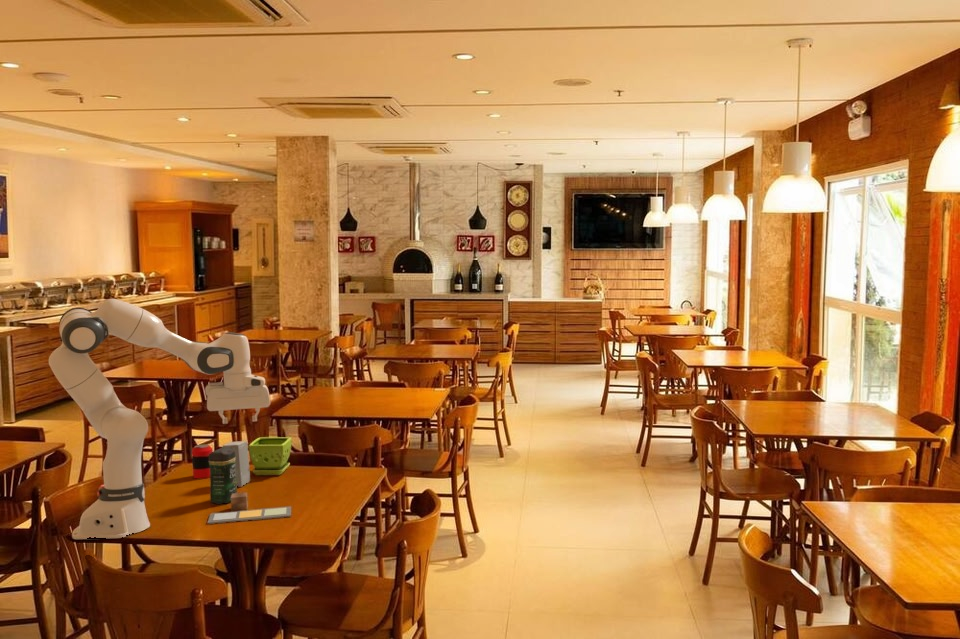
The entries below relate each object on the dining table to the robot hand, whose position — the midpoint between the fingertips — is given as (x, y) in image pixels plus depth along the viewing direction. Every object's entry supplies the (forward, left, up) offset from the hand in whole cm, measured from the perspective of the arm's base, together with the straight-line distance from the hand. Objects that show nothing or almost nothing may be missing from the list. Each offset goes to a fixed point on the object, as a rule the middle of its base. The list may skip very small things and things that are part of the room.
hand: (240, 422), depth 279 cm
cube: (-2, +3, -30) cm, 30 cm away
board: (+2, -6, -30) cm, 31 cm away
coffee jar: (-8, +15, -30) cm, 35 cm away
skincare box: (-5, +36, -30) cm, 47 cm away
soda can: (-19, +52, -30) cm, 63 cm away
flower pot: (+7, +50, -31) cm, 59 cm away
